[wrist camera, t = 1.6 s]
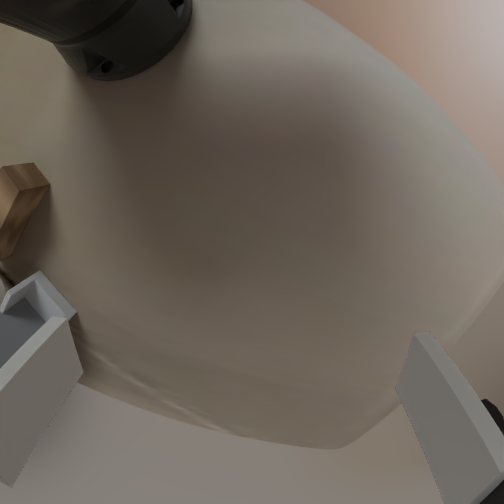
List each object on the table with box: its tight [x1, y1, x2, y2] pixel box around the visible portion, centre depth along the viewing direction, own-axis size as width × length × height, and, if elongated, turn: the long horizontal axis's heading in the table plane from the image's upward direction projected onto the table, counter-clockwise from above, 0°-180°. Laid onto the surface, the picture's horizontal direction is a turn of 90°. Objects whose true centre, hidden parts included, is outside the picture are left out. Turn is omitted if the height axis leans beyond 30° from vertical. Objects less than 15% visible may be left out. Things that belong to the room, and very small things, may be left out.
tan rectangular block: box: [0, 163, 50, 261], centre depth 29 cm, size 13×4×6 cm, turn 133°
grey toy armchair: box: [0, 270, 77, 368], centre depth 29 cm, size 10×10×14 cm
